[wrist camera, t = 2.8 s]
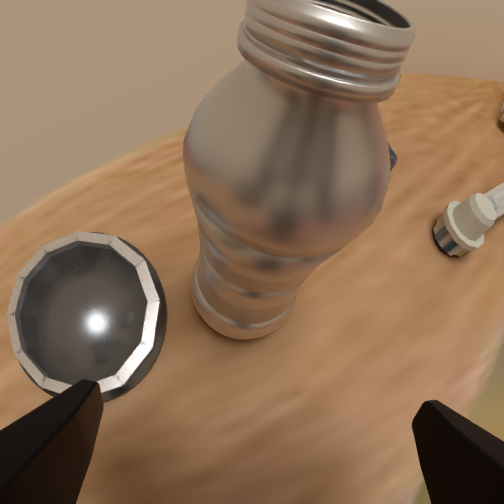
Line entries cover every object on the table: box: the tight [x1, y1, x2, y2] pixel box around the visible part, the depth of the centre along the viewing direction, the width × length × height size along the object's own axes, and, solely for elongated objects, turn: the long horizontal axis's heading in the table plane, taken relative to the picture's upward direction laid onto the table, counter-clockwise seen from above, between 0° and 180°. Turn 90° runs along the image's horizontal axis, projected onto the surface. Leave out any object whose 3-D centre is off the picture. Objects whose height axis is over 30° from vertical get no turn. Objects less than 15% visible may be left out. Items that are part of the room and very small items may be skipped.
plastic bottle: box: [183, 0, 416, 340], centre depth 14 cm, size 6×7×20 cm
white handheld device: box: [433, 182, 504, 257], centre depth 29 cm, size 5×7×25 cm
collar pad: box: [7, 231, 167, 402], centre depth 20 cm, size 13×13×1 cm
